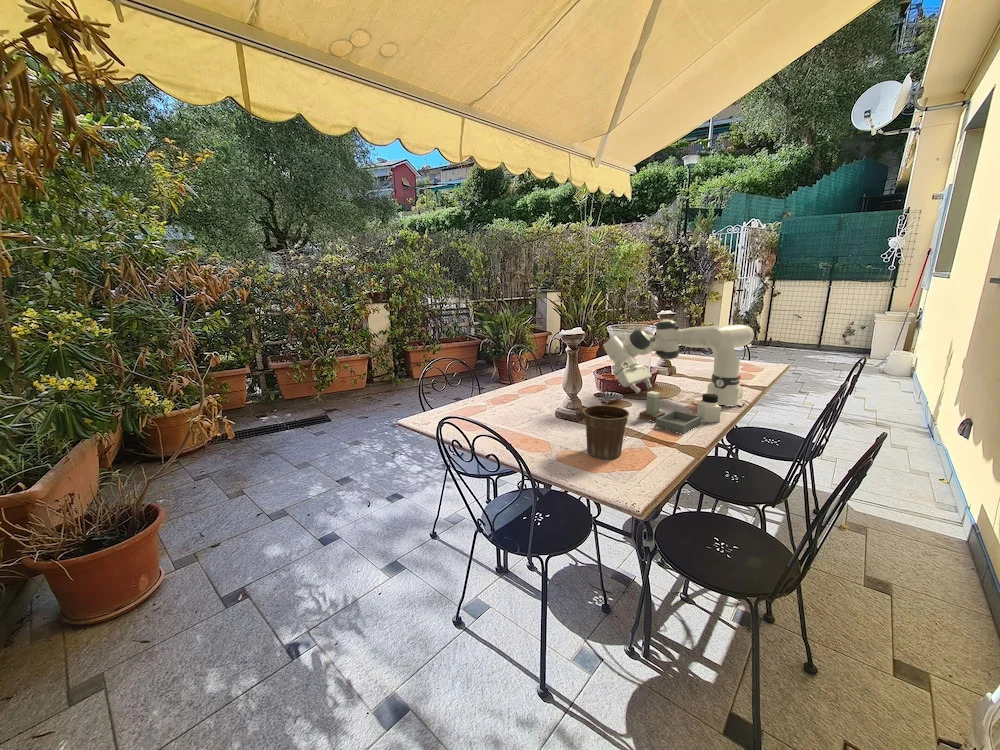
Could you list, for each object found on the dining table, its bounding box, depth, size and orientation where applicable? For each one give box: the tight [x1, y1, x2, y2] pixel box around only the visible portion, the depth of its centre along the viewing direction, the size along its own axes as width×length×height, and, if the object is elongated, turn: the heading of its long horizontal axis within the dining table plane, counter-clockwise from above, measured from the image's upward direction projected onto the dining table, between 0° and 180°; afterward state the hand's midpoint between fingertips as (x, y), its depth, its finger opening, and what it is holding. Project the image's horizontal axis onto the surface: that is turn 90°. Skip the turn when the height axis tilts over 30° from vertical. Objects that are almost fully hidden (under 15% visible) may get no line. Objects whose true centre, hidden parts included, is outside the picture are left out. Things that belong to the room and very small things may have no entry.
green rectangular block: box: [645, 390, 661, 416], centre depth 187 cm, size 4×4×12 cm
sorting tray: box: [655, 409, 702, 435], centre depth 177 cm, size 16×12×4 cm
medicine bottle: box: [696, 392, 722, 423], centre depth 183 cm, size 7×7×12 cm
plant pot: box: [582, 404, 630, 460], centre depth 151 cm, size 16×16×16 cm
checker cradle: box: [638, 409, 666, 423], centre depth 188 cm, size 8×8×3 cm
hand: (644, 390), depth 188 cm, fingers open, 8 cm apart
